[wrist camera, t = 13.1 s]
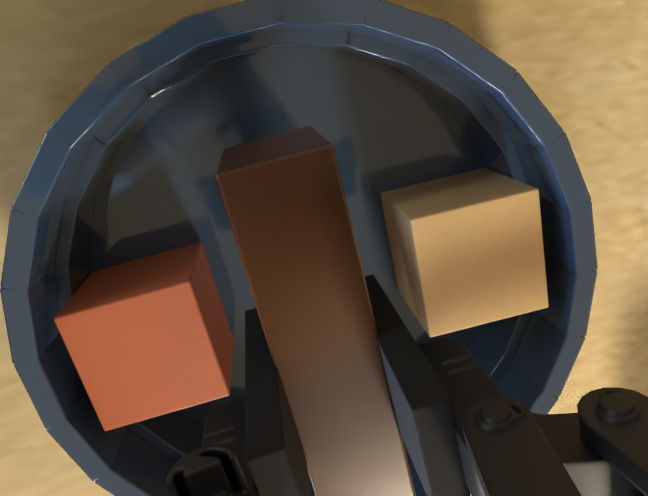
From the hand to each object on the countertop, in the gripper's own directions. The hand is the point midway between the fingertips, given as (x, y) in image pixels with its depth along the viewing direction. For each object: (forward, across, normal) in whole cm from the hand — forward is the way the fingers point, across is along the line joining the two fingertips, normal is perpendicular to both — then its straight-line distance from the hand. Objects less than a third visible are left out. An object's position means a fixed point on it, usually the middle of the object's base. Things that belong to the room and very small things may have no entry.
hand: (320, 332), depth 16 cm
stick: (0, 0, 0) cm, 0 cm away
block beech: (+7, +6, 0) cm, 9 cm away
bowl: (+7, 0, 0) cm, 7 cm away
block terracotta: (+7, -6, 0) cm, 9 cm away
